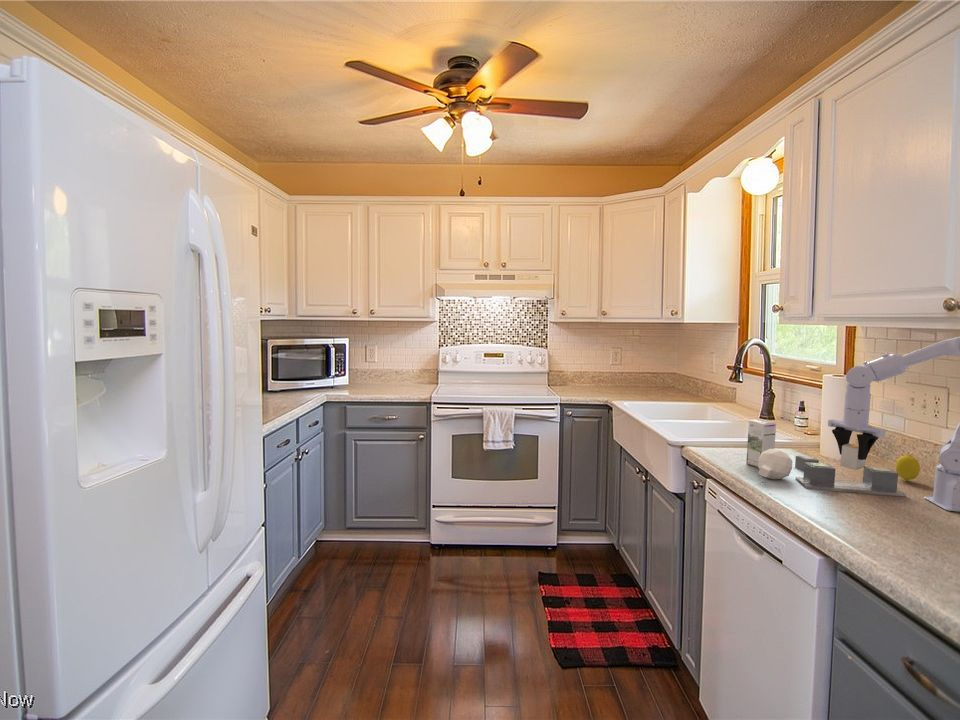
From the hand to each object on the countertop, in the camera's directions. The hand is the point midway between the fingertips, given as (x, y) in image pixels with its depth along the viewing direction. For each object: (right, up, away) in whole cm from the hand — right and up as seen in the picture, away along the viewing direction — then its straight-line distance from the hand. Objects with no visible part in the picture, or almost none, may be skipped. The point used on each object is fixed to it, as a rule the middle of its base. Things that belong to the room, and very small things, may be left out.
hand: (852, 456), depth 147 cm
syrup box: (-16, -7, +20) cm, 26 cm away
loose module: (+1, -3, +1) cm, 3 cm away
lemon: (+20, -9, +6) cm, 23 cm away
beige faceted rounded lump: (-20, -8, +6) cm, 22 cm away
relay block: (-3, -7, +16) cm, 18 cm away
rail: (-2, -9, -1) cm, 9 cm away
